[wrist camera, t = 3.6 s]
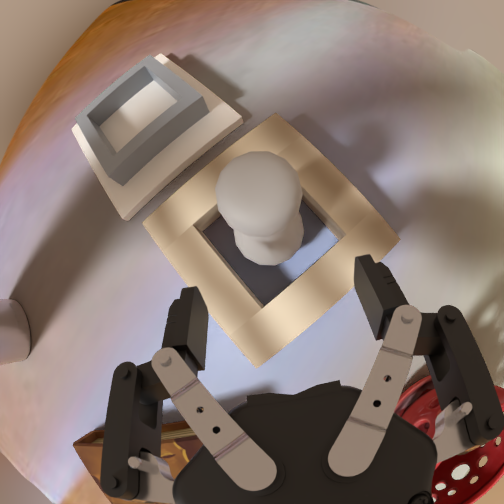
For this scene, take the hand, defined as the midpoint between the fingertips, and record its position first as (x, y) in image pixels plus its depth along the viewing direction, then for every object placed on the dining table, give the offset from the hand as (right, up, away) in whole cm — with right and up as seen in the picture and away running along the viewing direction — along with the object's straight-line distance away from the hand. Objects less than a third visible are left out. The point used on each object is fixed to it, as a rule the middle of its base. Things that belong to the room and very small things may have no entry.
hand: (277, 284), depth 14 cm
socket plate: (-14, +17, +15) cm, 26 cm away
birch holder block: (0, +3, +11) cm, 12 cm away
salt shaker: (0, +3, +12) cm, 12 cm away
